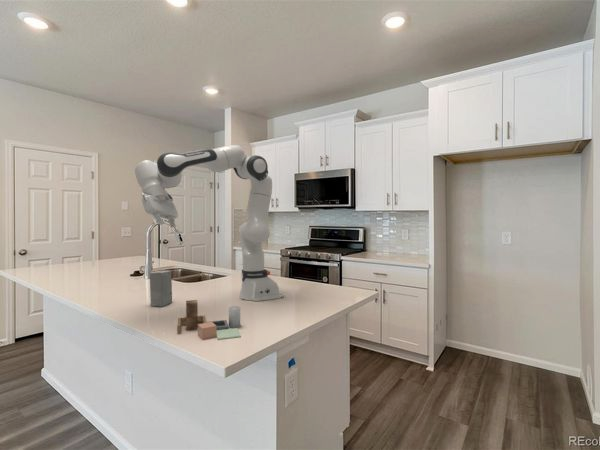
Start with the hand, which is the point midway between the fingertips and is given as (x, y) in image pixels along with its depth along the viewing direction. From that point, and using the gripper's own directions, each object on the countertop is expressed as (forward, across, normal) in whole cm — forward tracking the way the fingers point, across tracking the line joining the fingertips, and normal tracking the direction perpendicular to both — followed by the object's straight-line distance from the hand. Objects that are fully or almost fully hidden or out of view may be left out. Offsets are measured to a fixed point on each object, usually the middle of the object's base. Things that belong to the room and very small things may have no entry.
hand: (167, 225), depth 136 cm
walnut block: (+42, -6, +4) cm, 43 cm away
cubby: (+42, -6, +4) cm, 43 cm away
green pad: (+50, -10, -10) cm, 52 cm away
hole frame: (+46, -5, -5) cm, 47 cm away
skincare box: (+26, +22, +27) cm, 43 cm away
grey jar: (+49, -2, -10) cm, 50 cm away
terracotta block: (+48, -12, -4) cm, 49 cm away
